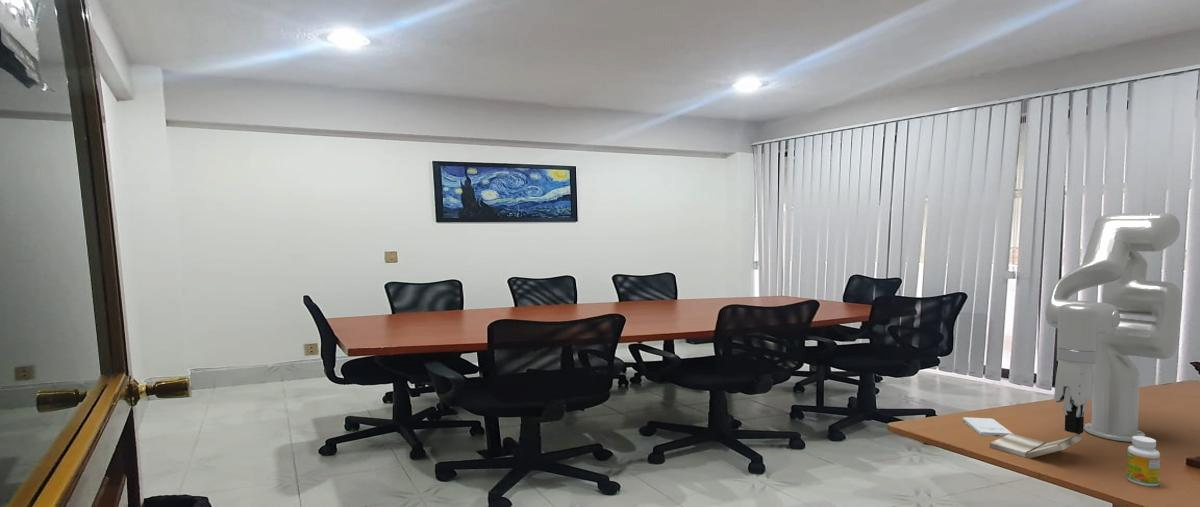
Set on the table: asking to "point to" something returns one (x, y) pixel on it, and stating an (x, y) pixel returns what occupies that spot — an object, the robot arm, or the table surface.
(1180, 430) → the table surface
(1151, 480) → the supplement bottle
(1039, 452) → the plank
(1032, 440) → the laid board
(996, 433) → the external hard drive
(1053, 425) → the table surface
